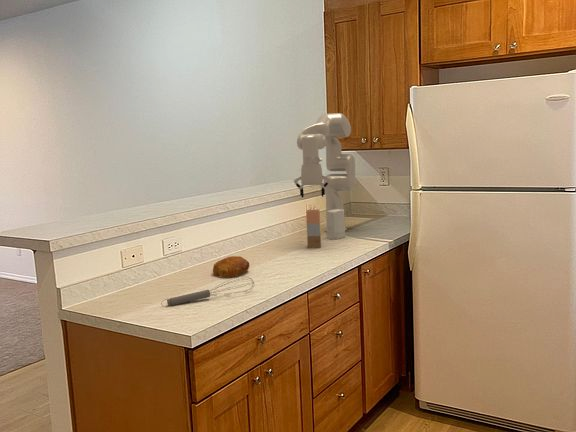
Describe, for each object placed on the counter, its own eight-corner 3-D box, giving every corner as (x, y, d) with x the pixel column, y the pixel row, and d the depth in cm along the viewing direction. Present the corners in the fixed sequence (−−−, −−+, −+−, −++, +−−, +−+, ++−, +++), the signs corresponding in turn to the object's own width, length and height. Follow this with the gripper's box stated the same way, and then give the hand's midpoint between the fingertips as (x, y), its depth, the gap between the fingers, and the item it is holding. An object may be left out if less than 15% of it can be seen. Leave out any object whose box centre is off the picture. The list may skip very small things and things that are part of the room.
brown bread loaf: (255, 275, 240) (256, 256, 240) (233, 279, 227) (234, 259, 227) (227, 271, 248) (228, 253, 247) (204, 275, 234) (205, 256, 234)
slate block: (308, 233, 284) (307, 221, 283) (320, 233, 283) (319, 221, 282) (307, 236, 278) (306, 223, 277) (319, 235, 277) (319, 223, 276)
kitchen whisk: (159, 305, 199) (158, 287, 198) (251, 290, 212) (250, 273, 211) (163, 310, 193) (162, 291, 192) (257, 294, 207) (256, 277, 206)
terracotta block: (307, 221, 283) (307, 209, 282) (320, 221, 282) (319, 209, 281) (306, 223, 277) (306, 211, 276) (319, 223, 276) (318, 211, 275)
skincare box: (337, 236, 306) (336, 208, 303) (345, 237, 301) (345, 209, 299) (326, 238, 300) (325, 210, 298) (334, 240, 296) (333, 211, 294)
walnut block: (308, 245, 285) (308, 233, 284) (320, 245, 284) (320, 233, 283) (307, 248, 279) (307, 236, 278) (320, 248, 278) (319, 235, 277)
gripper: (329, 159, 278) (330, 195, 281) (293, 161, 280) (295, 196, 283) (328, 161, 270) (330, 197, 273) (292, 162, 272) (294, 198, 275)
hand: (312, 196), depth 278 cm, fingers open, 9 cm apart
